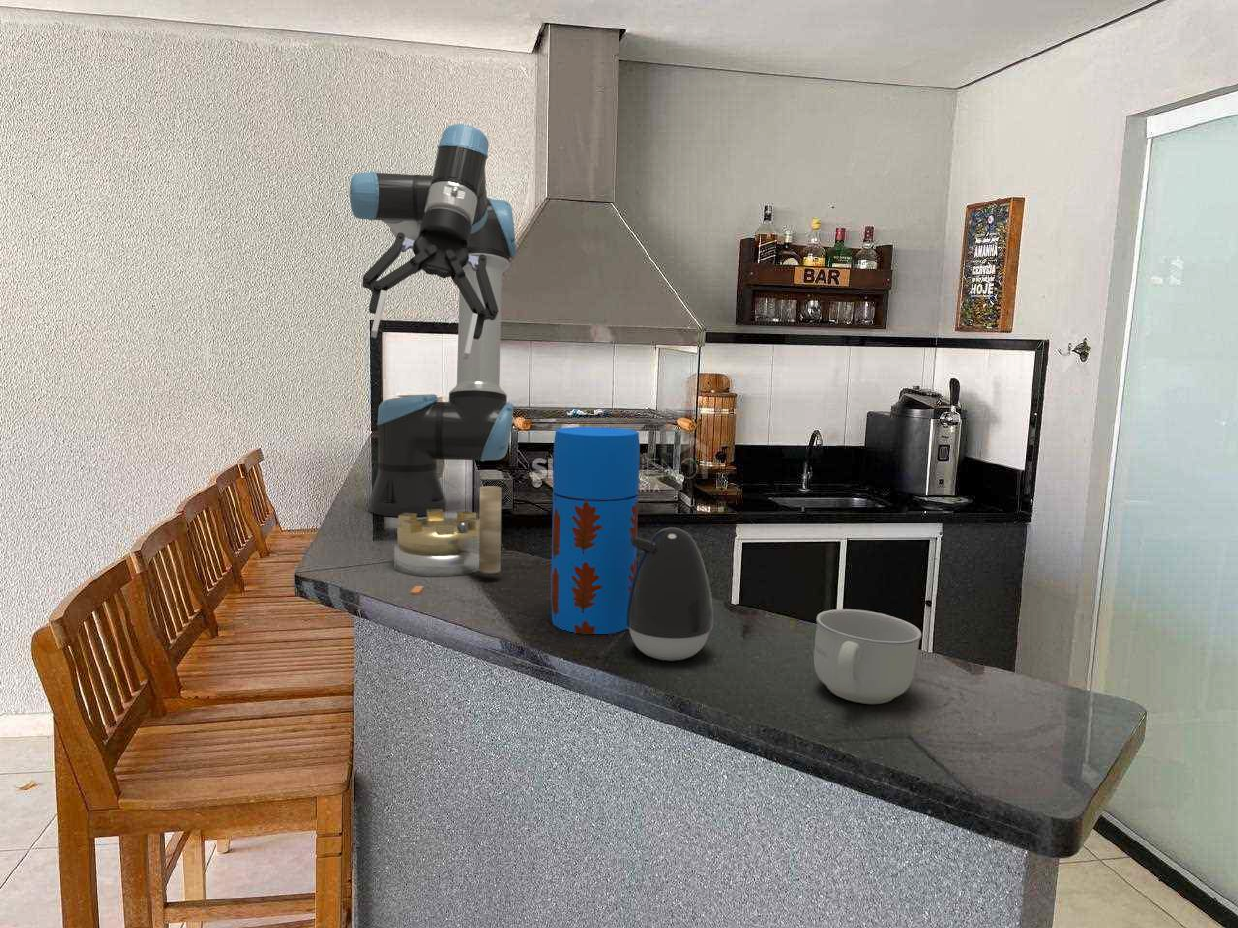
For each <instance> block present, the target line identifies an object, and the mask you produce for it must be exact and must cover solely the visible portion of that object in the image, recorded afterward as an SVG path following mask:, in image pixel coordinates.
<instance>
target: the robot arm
mask: <svg viewBox="0 0 1238 928" xmlns="http://www.w3.org/2000/svg"><path fill="white" fill-rule="evenodd" d="M441 135H442V136H441V138H440V140H439V144H438V145H437V149H438V150H437V154H436V159H435V163H434V169H433V172H432V174H431V175H430V174H405V173H404V174H403V173H402V174H401V173H387V172H385V173H384V172H376V171H371V172H356V173H354V174H353V176H352V177H351V179H350V184H349V185H350V186H349V187H350V188H349V201H350V209H351V211H352V214H353V216H354V217H355V218H356V219H358V220H368V221H371V222H372V221H381V222H382V223H384V224H385V225H387V226H388V227H389V230H390V232H391V234H392V235H393V236H394V237H395V238H394V242H393V243H392V245H391V246H390V247H389V248H388V249H387V250H386V251H385V252H384V253H383V254H382V255H381V257H379V259H378V260H376V261H375V263H374V264H373V265H372V266H371V267H370V268H369V269H368V270H367V271H366V272H365V274H363V276H362V283H361V284H362V287H363V288H364V289H367V290H368V291H371V297H370V302H369V306H368V311H369V313H370V314H372V315H374V318H373V323H372V327H371V334H370V337H371V338H374V339H377V336H378V331H379V327H380V323H381V319H382V315H383V311H384V306H385V301H386V296H387V291H388V290H390V289H392V288H393V287H394V286H395V287H396V285H398V284H400V283H401V282H402V281H404V280H406V279H407V278H408V277H410V276H412V275H416V274H417V273H419V272H420V271H424V273H425V274H426V275H432V276H438V277H439V278H442V279H447V278H450V279H451V281H452V282H453V284H454V285H455V286H457V288H458V290H459V291H458V293H459V295H458V297H459V298H458V331H457V334H458V335H457V363H456V364H457V366H456V367H457V368H456V384H455V386H454V387H453V388H452V389H451V390H450V391H449V392H448V401H439V398H438V395H437V394H432V393H430V394H417V395H407V396H399V397H393V398H389V399H386V400H383V401H382V402H381V403H380V404H379V406H378V410H377V412H378V414H377V422H376V425H377V452H378V454H377V455H378V456H377V461H378V462H377V465H378V467H377V469H378V470H377V475H376V479H375V481H374V485H373V488H372V491H371V494H370V498H369V503H368V505H369V508H368V509H369V512H370V513H372V514H375V515H379V516H384V517H396V518H397V517H398V518H399V515H401V514H403V513H415V514H417V517H425V516H426V517H427V509H442V510H443V511H444V512H445V511H446V510H447V509H446V508H447V505H446V504H447V499H446V496H445V492H444V490H443V487H442V484H441V480H440V477H439V475H438V460H443V461H444V460H447V461H448V460H450V461H451V460H456V461H458V460H459V461H481V462H485V461H499V460H502V459H503V458H505V457H506V455H507V452H508V448H509V444H510V438H511V433H512V425H513V417H514V416H513V415H514V405H513V403H511V402H507V401H508V400H507V396H508V395H507V393H506V392H505V391H504V390H503V389H502V388H501V385H500V384H501V383H500V375H501V333H502V331H501V329H502V294H503V293H502V292H503V291H502V289H503V288H502V287H503V286H502V285H503V284H502V283H503V273H505V272H506V270H507V269H509V267H510V264H511V261H510V260H511V259H514V258H517V255H518V254H517V253H518V252H517V243H516V237H515V235H516V234H515V224H514V217H513V208H512V205H511V204H510V203H509V202H508V201H507V200H501V199H492V198H490V197H488V196H487V189H486V187H487V186H486V184H487V181H486V180H487V179H486V164H487V163H486V162H487V160H488V158H489V154H488V153H489V152H488V151H489V145H490V144H489V140H488V137H487V136H486V135H485V133H484V132H482V131H481V130H480V129H478V128H477V127H474V126H472V125H469V124H463V123H455V124H451V125H449V126H447V127H446V128H445V129H444V130H443V132H442V134H441ZM409 249H411V250H412V251H413V254H414V256H412V257H411V258H410V259H409V260H408V261H407V262H404V263H403V264H402V265H399V267H397V268H395V269H394V270H392V271H391V272H389V273H387V274H386V275H385V276H383V277H381V276H382V274H384V273H385V271H386V270H387V269H389V267H391V265H392V264H393V263H394V262H395V261H396V259H397V258H399V256H400V255H401V253H406V252H407V251H409ZM380 277H381V278H380ZM379 278H380V279H379Z"/></svg>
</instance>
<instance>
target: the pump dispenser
mask: <svg viewBox="0 0 1238 928" xmlns="http://www.w3.org/2000/svg"><path fill="white" fill-rule="evenodd" d="M631 545H632V546H634V547H636V548H637V549H638V550H640V551H642V552H643V553H642V554H641V557H640V559H639V562H638V564H637V566H636V572H635V575H634V579H633V582H632V586H631V590H630V595H629V601H628V607H627V616H626V623H627V626H628V627H629V629H628V630H629V634H630V636H631V639H632V642H633V643H634V645H635V647H636V648H637V649H638V650H639V651H640V652H641V653H643V654H644V655H646V656H648V657H650V658H653V659H656V660H660V661H665V660H666V661H669V662H675V661H676V660H677V661H683V660H686V659H688V658H691V657H693V656H694V655H696V654H698V653H699V652H700V651H701V650H702V648H703V647H704V646H705V644H706V642H707V641H708V637H709V635H710V631H712V629H713V627H714V626H713V625H714V612H713V611H714V610H713V602H712V601H713V600H712V592H711V587H710V583H709V577H708V573H707V569H706V566H705V563H704V559H703V558H702V554H701V551H700V549H699V548H698V545H697V544H696V542H695V540H694V539H693V537H692V536H691V535H690V533H688V531H685V530H684V529H681V528H678V527H665V528H662V529H660V530H659V531H658V532H656V533H655V534H654V535H653V536H652V537H651V539H650V540H647V539H643V538H641V537H638V536H637V537H633V538H632V540H631ZM677 661H676V662H677Z"/></svg>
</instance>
